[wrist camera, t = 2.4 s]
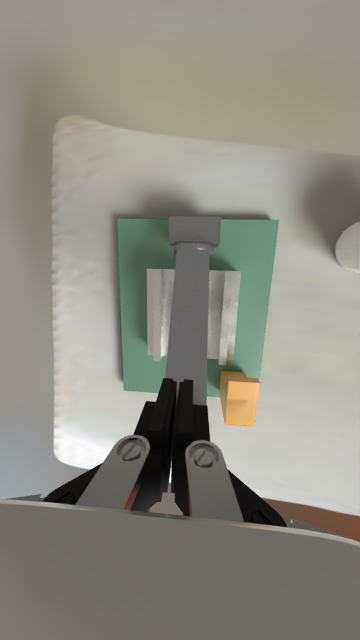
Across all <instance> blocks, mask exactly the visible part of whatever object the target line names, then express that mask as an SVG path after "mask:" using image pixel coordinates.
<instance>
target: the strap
mask: <svg viewBox="0 0 360 640" xmlns="http://www.w3.org/2000/svg"><path fill="white" fill-rule="evenodd" d="M174 254H176V264H175V275H174V286H173V297H172V308H171V319H170V330H169V341H168V352H167V363H166V374H165V378H171V379H173V381H177V397H178V390H179V383H180V382H183V381H184V379H188V380H193V404H194V405H206V396H207V351H208V305H209V259H210V255H213V242H200V241H174ZM176 404H177V398H176Z"/></svg>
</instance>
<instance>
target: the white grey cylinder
mask: <svg viewBox="0 0 360 640" xmlns="http://www.w3.org/2000/svg"><path fill="white" fill-rule="evenodd" d="M335 254H336V260H337V261H338V263H339V264H340V266H341V267H342V268H344V269H346V270H348V271H350V272H356V273H360V221H359V222H357V223H354V224H352V225H351V226H350V227H348V228H347V229H346V230H344V231H343V233H342V234H341V236H340V237H339V239H338V240H337V243H336V248H335Z"/></svg>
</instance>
